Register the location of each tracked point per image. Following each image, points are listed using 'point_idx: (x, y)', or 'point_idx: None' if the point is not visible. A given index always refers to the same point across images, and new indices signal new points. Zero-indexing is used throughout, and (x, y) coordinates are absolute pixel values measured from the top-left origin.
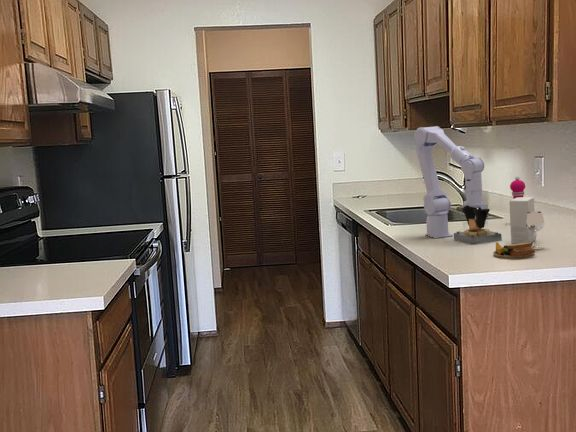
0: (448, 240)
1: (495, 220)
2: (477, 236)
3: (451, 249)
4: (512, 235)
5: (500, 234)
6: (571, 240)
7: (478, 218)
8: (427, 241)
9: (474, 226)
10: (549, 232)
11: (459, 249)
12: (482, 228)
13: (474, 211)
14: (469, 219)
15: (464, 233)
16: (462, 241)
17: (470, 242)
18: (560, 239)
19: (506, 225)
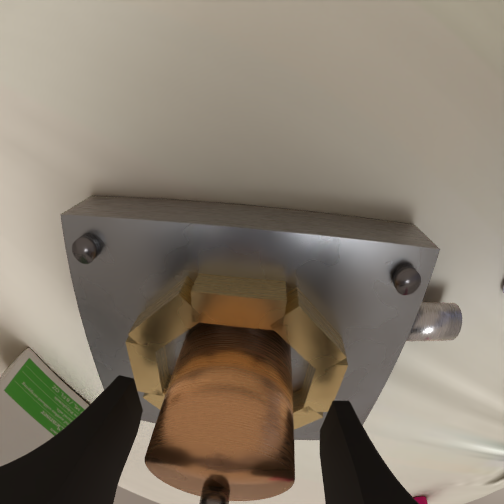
0: (415, 164)
1: (492, 474)
2: (83, 282)
3: (34, 9)
4: (4, 374)
5: None
6: None
7: (49, 440)
8: (491, 37)
9: (171, 384)
10: (197, 499)
11: (5, 56)
12: None
13: (9, 501)
14: (211, 445)
15: (296, 289)
16: (247, 206)
17: (95, 200)
18: None
19: (422, 488)
